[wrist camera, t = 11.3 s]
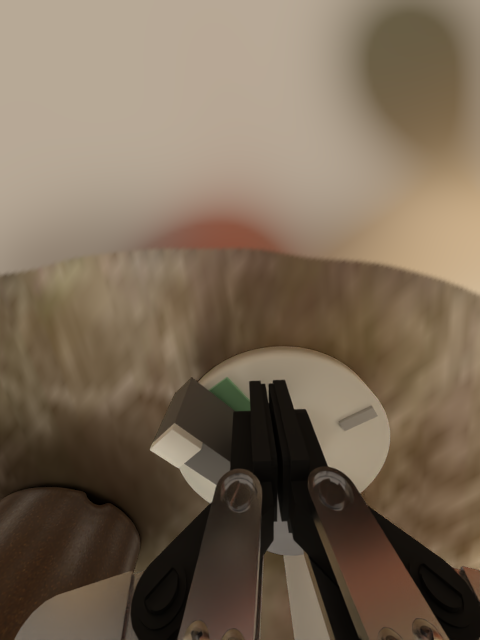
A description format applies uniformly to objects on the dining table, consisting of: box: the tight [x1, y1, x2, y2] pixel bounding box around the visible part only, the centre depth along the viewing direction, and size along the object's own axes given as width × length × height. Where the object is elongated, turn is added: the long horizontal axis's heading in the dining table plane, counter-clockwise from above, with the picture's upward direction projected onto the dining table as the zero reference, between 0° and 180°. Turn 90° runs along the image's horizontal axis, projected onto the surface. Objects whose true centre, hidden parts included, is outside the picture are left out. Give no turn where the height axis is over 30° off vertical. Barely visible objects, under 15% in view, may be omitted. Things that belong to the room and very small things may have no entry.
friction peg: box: [150, 378, 304, 556], centre depth 11 cm, size 10×4×4 cm, turn 46°
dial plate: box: [179, 346, 390, 503], centre depth 14 cm, size 13×13×2 cm
